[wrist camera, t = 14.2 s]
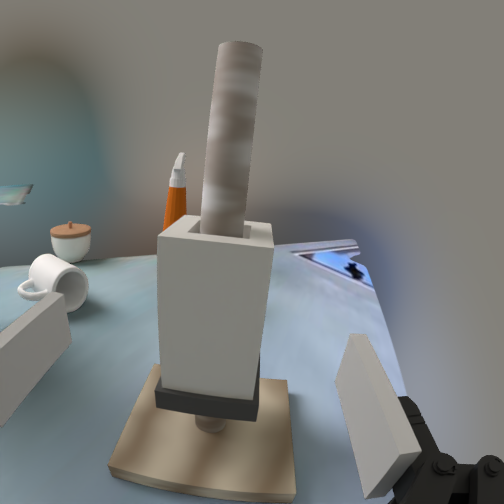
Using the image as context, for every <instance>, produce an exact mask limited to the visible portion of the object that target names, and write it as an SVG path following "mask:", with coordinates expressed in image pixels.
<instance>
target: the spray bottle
mask: <svg viewBox="0 0 504 504" xmlns="http://www.w3.org/2000/svg"><path fill="white" fill-rule="evenodd" d="M185 157H186V155H185V153H179V156H178V157H177V159H176V161H175V165H174V168H173V170H172V177H171V178H170V186H169V192H168V198H167V205H166V212H165V219H164V227H163V231H164V230H166V229H167V228H168V227H169V226H171V225H172V224H173V223H175V222H176V221H177V220H179V219H180V218H181V217H183V216H184V215H187V214H186V178H185V169H184V163H185Z"/></svg>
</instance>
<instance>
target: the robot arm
mask: <svg viewBox="0 0 504 504" xmlns="http://www.w3.org/2000/svg"><path fill="white" fill-rule="evenodd" d="M71 343H72V338H71V333H70V328H69V323H68V317H67V311H66V304H65V298H64V294H61V293H57V292H53V291H52V292H51V293H49V294H48V295H47V296H45V297H44V298H43V299H41V300H40V301H39V302H38V303H36V304H35V305H34V306H33V307H31V308H30V309H29V310H28V311H26V312H25V313H24V314H23V315H21V316H20V317H19V318H18V319H16V320H15V321H14V322H13V323H12V324H10V325H9V326H8V327H7V328H6V329H4V330H3V331H2V332H1V333H0V427H1V428H2V427H3V426H4V424H5V423H6V422H7V420H8V419H9V418H10V417H11V415H12V414H13V413H14V411H15V410H16V409H17V408H18V406H19V405H20V404H21V403H22V401H23V400H24V399H25V398H26V396H27V395H28V394H29V393H30V391H31V390H32V389H33V388H34V386H35V385H36V384H37V383H38V382H39V380H40V379H41V378H42V377H43V376H44V374H45V373H46V372H47V371H48V370H49V368H50V367H51V366H52V365H53V364H54V363H55V361H56V360H57V359H58V358H59V357H60V356H61V355H62V353H63V352H64V351H65V350H66V349H67V348H68V347H69V345H70V344H71ZM335 384H336V388H337V392H338V395H339V399H340V403H341V406H342V410H343V414H344V417H345V421H346V425H347V429H348V433H349V437H350V440H351V444H352V448H353V452H354V456H355V460H356V464H357V469H358V473H359V477H360V481H361V485H362V490H363V494H364V498H365V499H371V498H377V497H384V496H386V494H387V493H388V492H389V491H390V490H391V489H393V492H394V495H395V497H394V498H393V499H392V500H391V501H390V502H389V503H388V504H504V463H503V462H502V460H501V459H499V458H498V457H496V456H493V455H486V456H484V457H482V458H481V459H480V460H479V461H478V463H477V464H476V465H473V464H457V462H456V461H455V459H454V458H453V457H452V456H450V455H448V454H445V453H441V452H440V451H439V449H438V447H437V445H436V443H435V441H434V439H433V437H432V435H431V433H430V431H429V429H428V427H427V425H426V424H425V421H424V419H423V417H422V416H421V413H420V411H419V409H418V407H417V405H416V404H415V403H414V402H413V401H412V400H411V399H410V398H409V397H408V396H402V397H397V395H396V393H395V391H394V389H393V387H392V385H391V383H390V381H389V379H388V377H387V375H386V373H385V371H384V369H383V367H382V365H381V363H380V361H379V359H378V357H377V355H376V353H375V351H374V349H373V347H372V345H371V343H370V341H369V339H368V337H367V335H366V334H350V335H349V339H348V342H347V345H346V349H345V352H344V355H343V358H342V361H341V364H340V367H339V370H338V373H337V376H336V379H335Z"/></svg>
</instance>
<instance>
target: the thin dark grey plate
mask: <svg viewBox="0 0 504 504" xmlns="http://www.w3.org/2000/svg"><path fill="white" fill-rule="evenodd" d="M259 385H260V355H259V361H258V368H257V375H256V381H255V388H254V394H253V400H245V399H235V398H226V397H218V396H211V395H204V394H197V393H190V392H184V391H178V390H173V389H167V388H162V380H161V376H160V378H159V381H158V383H157V385H156V388H155V390H154V392H155V401H156V408H160V409H165V410H170V411H176V412H181V413H187V414H193V415H200V416H207V417H214V418H222V419H230V420H240V421H250V422H256V420H257V414H258V409H259Z"/></svg>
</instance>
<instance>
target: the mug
mask: <svg viewBox="0 0 504 504" xmlns="http://www.w3.org/2000/svg"><path fill="white" fill-rule="evenodd" d="M29 288H32V289H33V290H34V291H35V292H36V293H30V292H26V291H24V290H26V289H29ZM88 288H89V284H88V279H87V276H86V274H85V273H84V272H83V271H82V270H81V269H80V268H77V267H75V266H73V265H71V264H69V263H67V262H65V261H63V260H62V259H60V258H58V257H56V256H53V255H51V254H44V255H41V256H39V257H38V258H37V259H35V261H34V262H33V263H32V265H31V267H30V270H29V280H27V281H25V282H23V283H22V284H21V285H20V286H19V287H18V294H19V295H20V296H21V297H22V298H23V299H25V300H29V301H40V300H41V299H43V298H44V297H45V296H47V295H48V294H49V293H51V292H52V291H53V292H57V293H61V294H64V298H65V304H66V311H67V313H69V312H73V311H75V310H77V309H78V308H79V307H80V306H81V305H82V304H83V303H84V301H85V299H86V297H87V294H88Z"/></svg>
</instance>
